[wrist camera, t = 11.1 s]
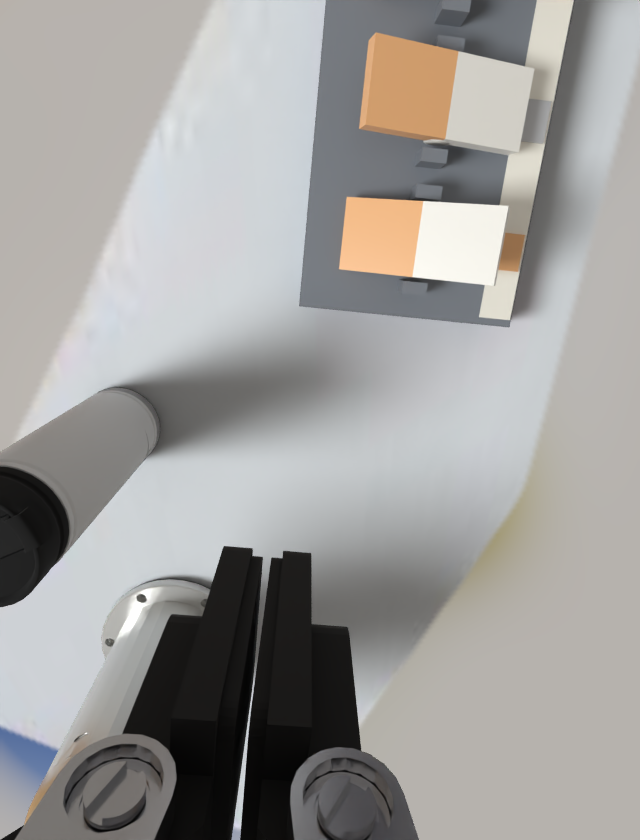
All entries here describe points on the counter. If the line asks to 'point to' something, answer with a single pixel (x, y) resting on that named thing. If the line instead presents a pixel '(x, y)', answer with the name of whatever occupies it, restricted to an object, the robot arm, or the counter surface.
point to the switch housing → (425, 151)
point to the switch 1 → (444, 96)
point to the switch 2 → (424, 239)
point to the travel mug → (66, 481)
